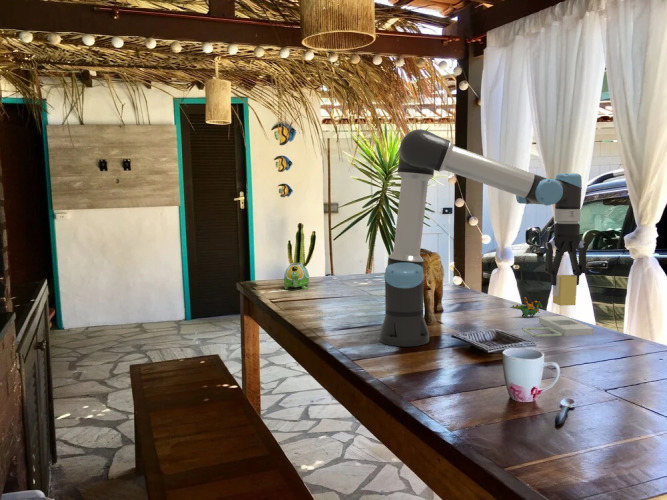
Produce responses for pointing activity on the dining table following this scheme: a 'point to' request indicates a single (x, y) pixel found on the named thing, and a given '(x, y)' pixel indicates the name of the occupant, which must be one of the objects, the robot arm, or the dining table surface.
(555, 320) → the recessed block
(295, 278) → the turtle holder
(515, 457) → the dining table surface
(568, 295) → the block
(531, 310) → the figurine
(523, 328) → the tray
